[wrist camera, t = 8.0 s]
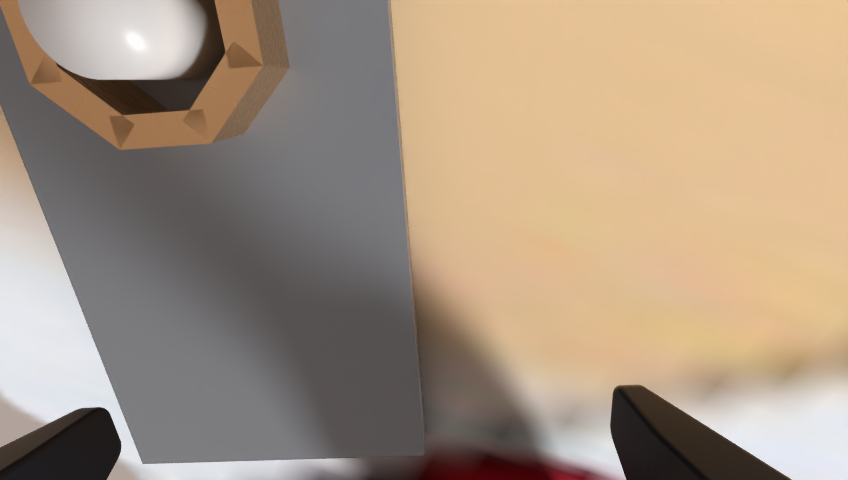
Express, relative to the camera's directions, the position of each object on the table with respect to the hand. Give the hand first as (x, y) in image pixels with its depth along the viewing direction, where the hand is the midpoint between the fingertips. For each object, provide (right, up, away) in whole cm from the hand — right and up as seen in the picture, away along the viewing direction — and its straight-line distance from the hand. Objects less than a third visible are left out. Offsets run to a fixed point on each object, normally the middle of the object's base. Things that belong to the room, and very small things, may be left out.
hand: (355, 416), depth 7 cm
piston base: (-6, +4, +10) cm, 13 cm away
